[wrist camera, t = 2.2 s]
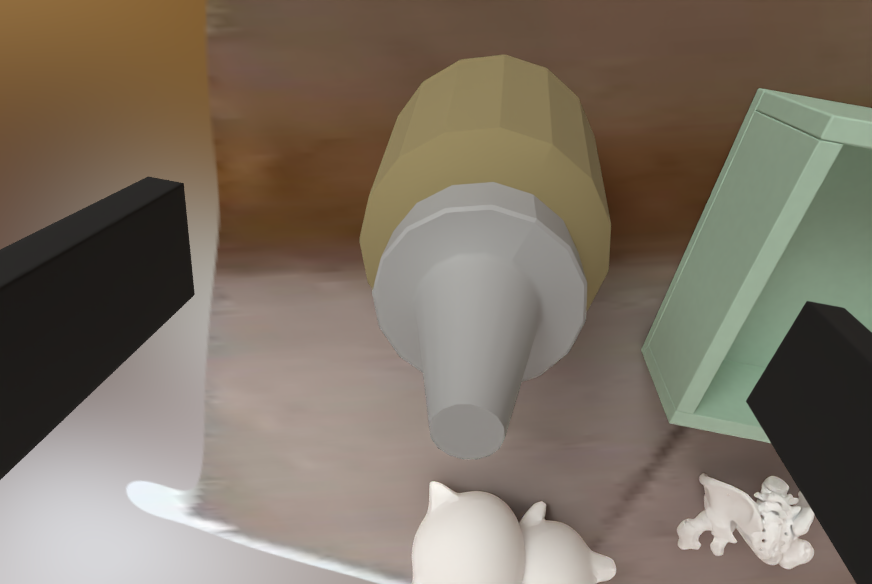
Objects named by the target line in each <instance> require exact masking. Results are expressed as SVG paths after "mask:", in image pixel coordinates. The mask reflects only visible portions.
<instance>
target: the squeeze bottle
mask: <svg viewBox="0 0 872 584" xmlns="http://www.w3.org/2000/svg"><path fill="white" fill-rule="evenodd" d="M610 235H611V221H610V216H609V211H608V205H607V200H606V195H605V190H604V184H603V179H602V174H601V168H600V163H599V158H598V152H597V147H596V142H595V137H594V134H593V132H592V129H591V127H590V125H589V122H588V120H587V117H586V115H585V112H584V110H583V107H582V105H581V102H580V100H579V98H578V97H577V96H576V95H575V94H574V93H573V92H572V91H571V90H570V89H569V88H568V87H567V86H565V85H564V84H563V83H562V82H561V81H560V80H559V79H558V78H557V77H556V76H555V75H554V74H553V73H552V72H550V71H549V70H548V69H547V68H545V67H542V66H539V65H536V64H532V63H529V62H526V61H523V60H520V59H517V58H514V57H511V56H508V55H496V56H487V57H479V58H470V59H462V60H459V61H457V62H456V63H454V64H452V65H451V66H449V67H447V68H446V69H444V70H442V71H440V72H439V73H437V74H435V75H434V76H432V77H430V78H429V79H427V80H425V81H424V82H422V84H421V85H420V87H419V88H418V89H417V91H416V92H415V93H414V95H413V96H412V98H411V99H410V100H409V102H408V103H407V104H406V106H405V107H404V109H403V110H402V111H401V113H400V114H399V115H398V117H397V120H396V123H395V126H394V129H393V131H392V134H391V137H390V140H389V142H388V145H387V148H386V151H385V154H384V156H383V159H382V162H381V165H380V167H379V170H378V173H377V176H376V178H375V181H374V184H373V187H372V190H371V192H370V195H369V199H368V203H367V208H366V212H365V217H364V221H363V226H362V230H361V235H360V239H359V241H360V246H361V251H362V256H363V261H364V266H365V270H366V275H367V280H368V283H369V285H370V286H371V288H372V289H373V291H372V295H373V300H374V305H375V310H376V315H377V320H378V324H379V328H380V329H381V331H382V332H383V334H384V335H385V337H386V338H387V339H388V341H389V342H390V344H391V345H392V347H393V348H394V349H395V351H396V352H397V354H398V355H399V357H401V358H402V359H404V360H405V361H406V362H408V363H409V364H411V365H412V366H414V367H415V368H417V369H418V370H419V371H421V372H422V373H423V377H424V386H425V395H426V404H427V412H428V421H429V429H430V435H431V439H432V440H433V442H434V443H435V444H436V446H437V447H438V448H439V449H440V450H442V451H443V452H445V453H446V454H448V455H450V456H453V457H457V458H460V459H480V458H483V457H487V456H490V455H491V454H493V453H494V452H495V451H497V450H498V449H499V448H500V447H501V445H502V443H503V441H504V439H505V436H506V432H507V429H508V426H509V422H510V419H511V416H512V412H513V409H514V406H515V402H516V399H517V396H518V392H519V389H520V386H521V382H523V381H526V380H529V379H532V378H535V377H538V376H540V375H542V374H543V373H544V372H545V371H547V370H548V369H549V368H550V367H552V366H553V365H554V364H555V363H556V362H558V361H559V360H560V359H561V358H563V357H564V356H565V355H566V354H568V353H569V351H570V350H571V348H572V346H573V344H574V342H575V340H576V338H577V336H578V334H579V333H580V331H581V329H582V327H583V325H584V323H585V321H586V311H588V309H589V307H590V305H591V303H592V301H593V299H594V298H595V296H596V294H597V292H598V290H599V288H600V286H601V284H602V282H603V280H604V278H605V277H606V275H607V273H608V271H609V254H610Z"/></svg>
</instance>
